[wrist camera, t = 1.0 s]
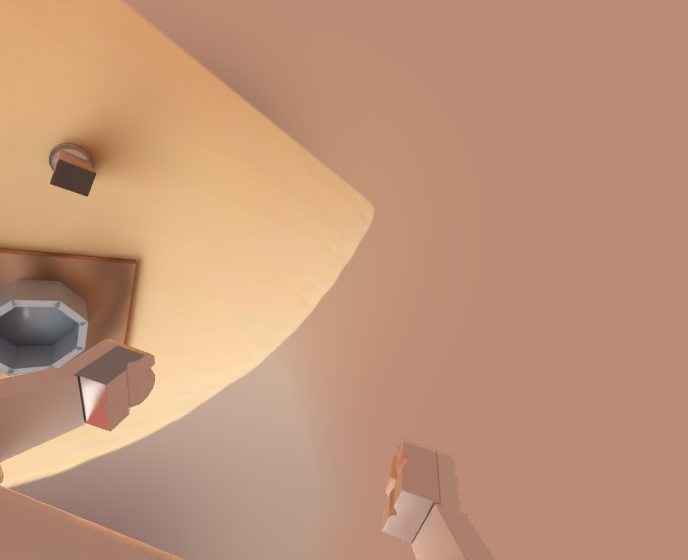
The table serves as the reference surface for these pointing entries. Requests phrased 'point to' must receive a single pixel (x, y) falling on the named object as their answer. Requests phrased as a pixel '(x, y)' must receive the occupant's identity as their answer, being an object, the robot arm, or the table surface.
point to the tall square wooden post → (72, 168)
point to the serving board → (81, 286)
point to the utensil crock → (40, 326)
